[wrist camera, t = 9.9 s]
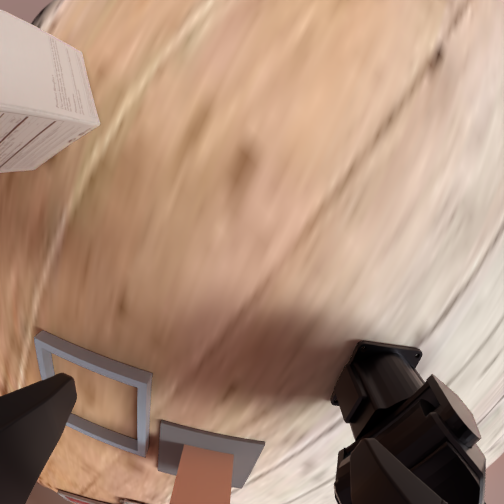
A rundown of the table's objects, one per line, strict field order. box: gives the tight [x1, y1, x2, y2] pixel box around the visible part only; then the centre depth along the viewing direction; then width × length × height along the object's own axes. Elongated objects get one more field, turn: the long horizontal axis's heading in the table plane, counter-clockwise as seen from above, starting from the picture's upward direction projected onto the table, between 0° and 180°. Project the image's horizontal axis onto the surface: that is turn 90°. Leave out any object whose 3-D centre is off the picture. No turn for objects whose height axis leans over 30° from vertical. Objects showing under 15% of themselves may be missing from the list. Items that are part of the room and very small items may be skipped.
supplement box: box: [0, 9, 100, 173], centre depth 11 cm, size 7×7×13 cm
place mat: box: [158, 420, 265, 488], centre depth 25 cm, size 10×10×1 cm
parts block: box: [170, 444, 234, 504], centre depth 20 cm, size 5×5×9 cm
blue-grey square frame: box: [34, 330, 152, 457], centre depth 23 cm, size 12×12×2 cm
